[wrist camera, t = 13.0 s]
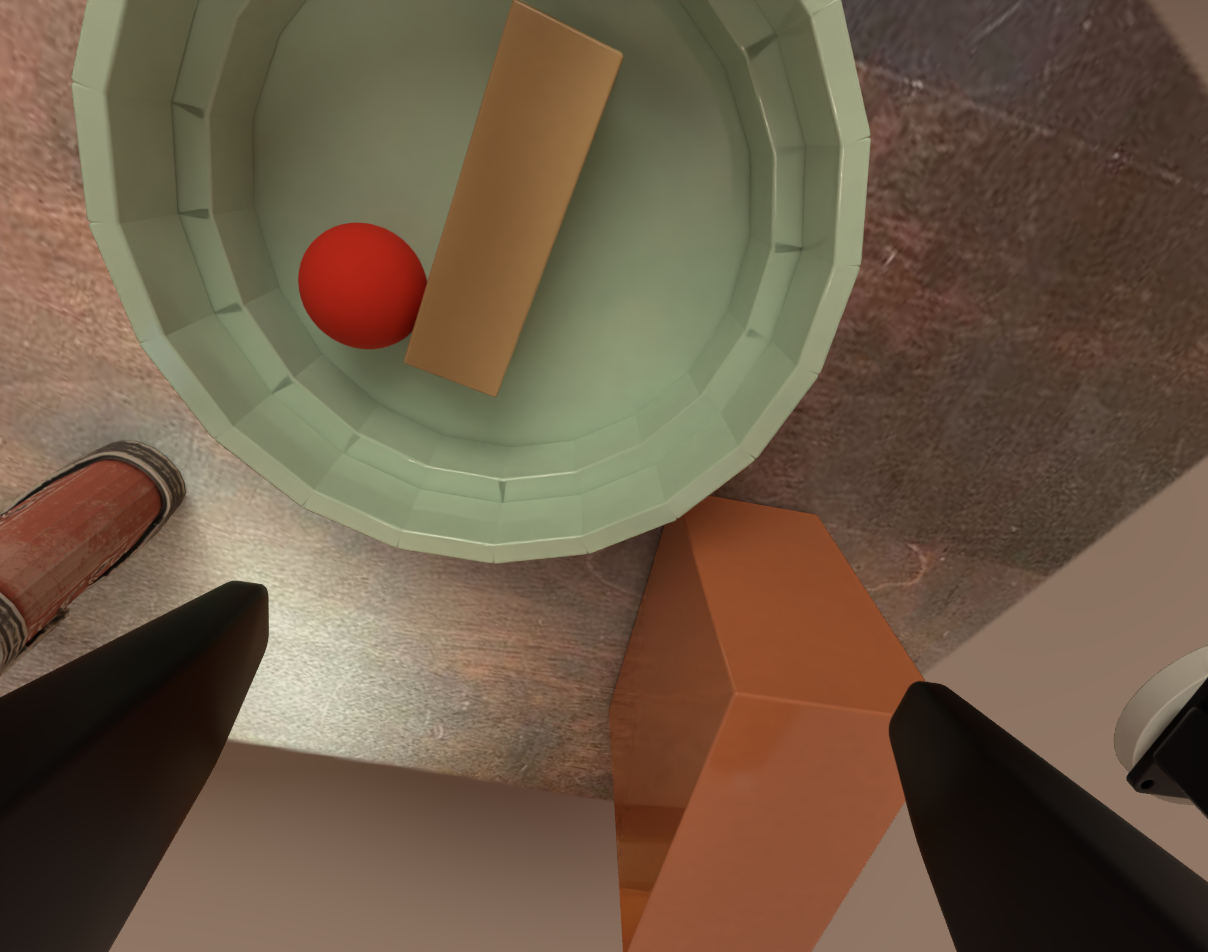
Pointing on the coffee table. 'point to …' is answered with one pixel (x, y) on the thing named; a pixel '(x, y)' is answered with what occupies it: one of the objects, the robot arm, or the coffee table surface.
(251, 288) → the bowl
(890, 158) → the coffee table surface
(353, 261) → the tomato ball
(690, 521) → the rectangular block
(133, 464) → the lighter
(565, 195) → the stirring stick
